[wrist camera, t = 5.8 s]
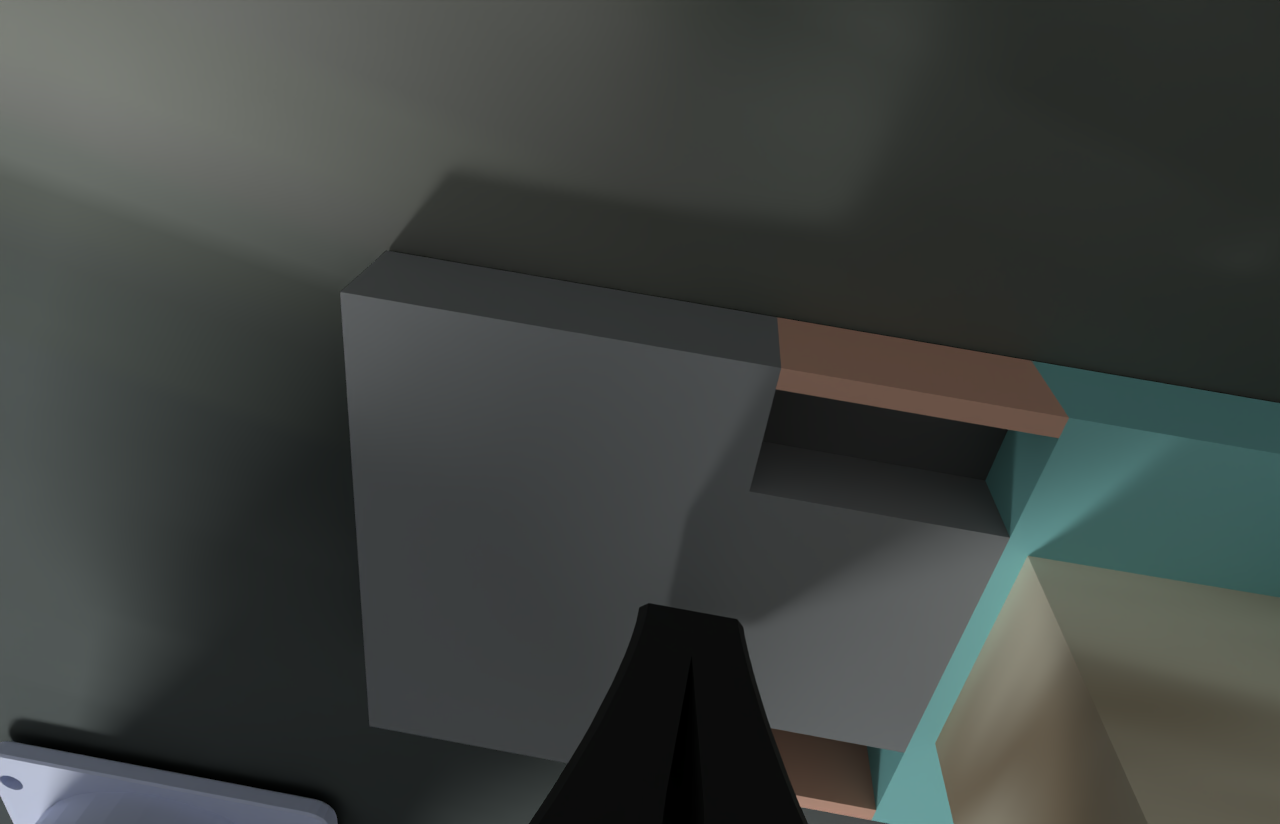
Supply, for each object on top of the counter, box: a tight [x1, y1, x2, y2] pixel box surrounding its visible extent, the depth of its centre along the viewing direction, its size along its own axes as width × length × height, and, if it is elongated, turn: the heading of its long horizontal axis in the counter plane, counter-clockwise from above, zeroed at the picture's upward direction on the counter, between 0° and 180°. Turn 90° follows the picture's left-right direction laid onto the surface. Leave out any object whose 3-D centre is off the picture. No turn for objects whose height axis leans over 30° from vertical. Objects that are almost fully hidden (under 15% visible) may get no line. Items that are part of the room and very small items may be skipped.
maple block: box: [935, 556, 1280, 824], centre depth 10 cm, size 4×4×4 cm
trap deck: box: [340, 251, 1280, 824], centre depth 12 cm, size 14×8×4 cm, turn 82°
